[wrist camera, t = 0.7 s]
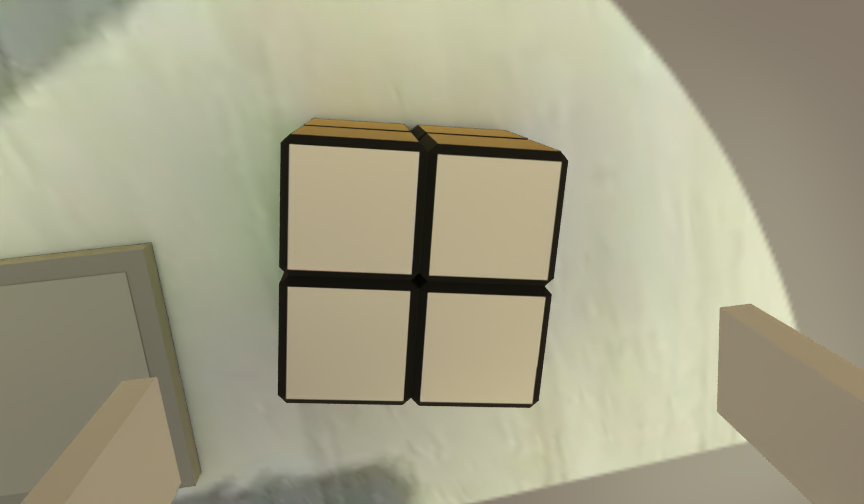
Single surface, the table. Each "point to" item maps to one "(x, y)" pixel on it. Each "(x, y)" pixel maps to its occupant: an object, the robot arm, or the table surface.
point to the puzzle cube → (415, 264)
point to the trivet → (80, 355)
